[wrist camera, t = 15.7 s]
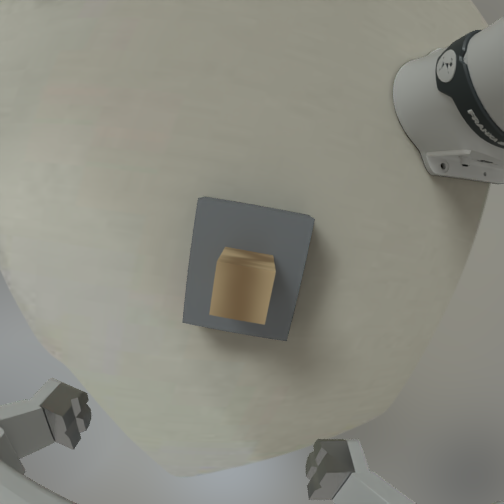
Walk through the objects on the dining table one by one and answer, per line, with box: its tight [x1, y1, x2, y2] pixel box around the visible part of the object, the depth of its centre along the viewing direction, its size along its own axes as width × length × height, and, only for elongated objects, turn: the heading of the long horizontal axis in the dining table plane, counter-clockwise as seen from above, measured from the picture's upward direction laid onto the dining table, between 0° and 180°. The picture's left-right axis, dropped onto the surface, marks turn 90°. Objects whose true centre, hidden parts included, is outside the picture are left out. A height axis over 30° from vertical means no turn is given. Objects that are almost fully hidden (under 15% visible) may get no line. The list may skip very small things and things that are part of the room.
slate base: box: [183, 197, 315, 341], centre depth 34 cm, size 12×14×4 cm
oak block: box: [209, 247, 276, 325], centre depth 29 cm, size 5×5×6 cm
